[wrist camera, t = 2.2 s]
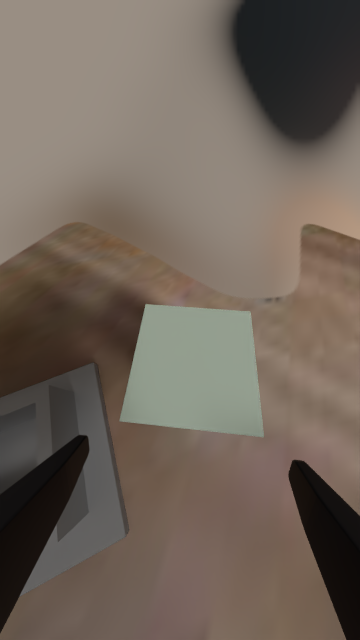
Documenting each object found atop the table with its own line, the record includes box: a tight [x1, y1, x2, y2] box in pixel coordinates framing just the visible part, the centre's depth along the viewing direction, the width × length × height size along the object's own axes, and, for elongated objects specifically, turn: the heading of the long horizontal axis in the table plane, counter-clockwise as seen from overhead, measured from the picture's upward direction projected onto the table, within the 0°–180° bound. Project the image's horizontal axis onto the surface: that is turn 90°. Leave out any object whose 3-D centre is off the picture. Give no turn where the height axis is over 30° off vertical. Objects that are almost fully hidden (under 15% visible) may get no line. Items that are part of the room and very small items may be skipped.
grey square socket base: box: [0, 362, 129, 597], centre depth 14 cm, size 14×14×5 cm
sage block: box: [120, 304, 264, 437], centre depth 13 cm, size 5×5×13 cm
